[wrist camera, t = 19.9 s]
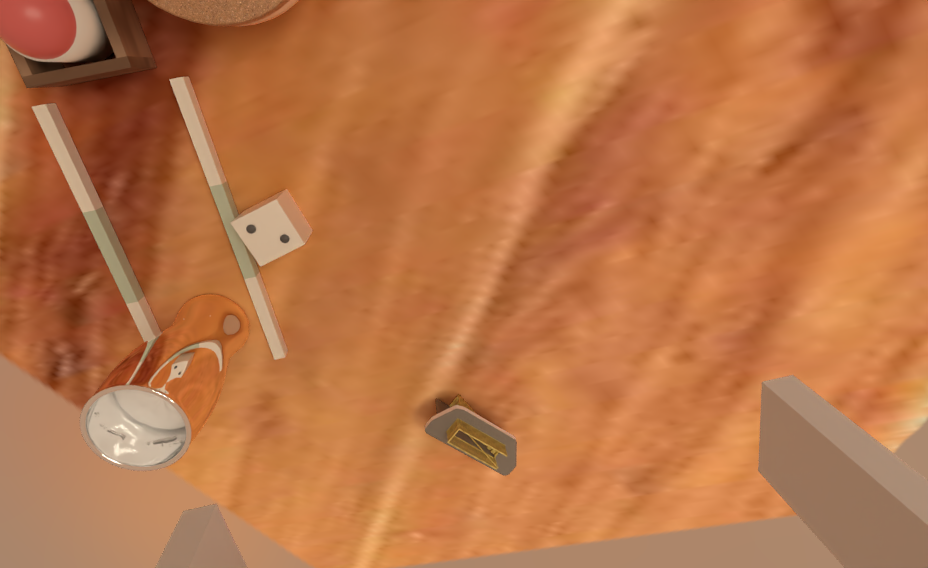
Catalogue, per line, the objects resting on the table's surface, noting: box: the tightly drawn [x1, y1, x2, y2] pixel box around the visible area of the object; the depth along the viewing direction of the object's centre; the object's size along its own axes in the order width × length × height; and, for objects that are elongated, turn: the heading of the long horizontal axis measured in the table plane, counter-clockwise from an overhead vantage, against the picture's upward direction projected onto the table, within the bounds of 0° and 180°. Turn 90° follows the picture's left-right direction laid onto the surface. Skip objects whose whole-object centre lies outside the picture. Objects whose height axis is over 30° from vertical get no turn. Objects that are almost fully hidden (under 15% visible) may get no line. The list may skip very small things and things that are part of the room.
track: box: [32, 77, 288, 360], centre depth 44 cm, size 24×11×1 cm, turn 11°
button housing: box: [6, 0, 157, 88], centre depth 36 cm, size 7×7×4 cm
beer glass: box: [80, 294, 249, 471], centre depth 40 cm, size 7×7×15 cm
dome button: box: [0, 0, 113, 63], centre depth 34 cm, size 5×5×7 cm
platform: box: [425, 394, 517, 475], centre depth 51 cm, size 12×18×6 cm, turn 53°
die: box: [231, 189, 313, 267], centre depth 43 cm, size 4×4×4 cm
